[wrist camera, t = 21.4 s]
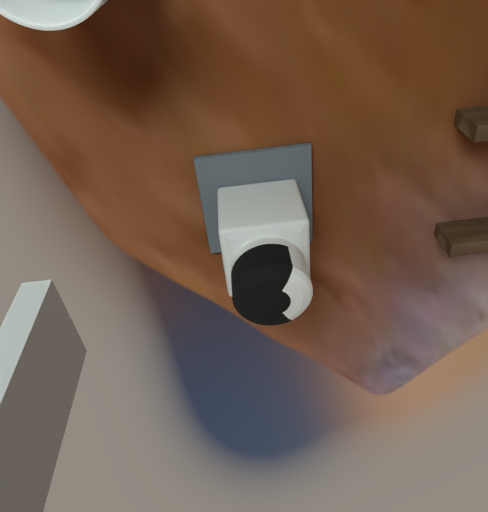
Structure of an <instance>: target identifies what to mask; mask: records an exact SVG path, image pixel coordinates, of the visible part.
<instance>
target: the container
mask: <svg viewBox="0 0 488 512" xmlns="http://www.w3.org/2000/svg"><path fill="white" fill-rule="evenodd" d="M217 200H218V233H219V239H220V245H221V251H222V257H223V264H224V270H225V276H226V282H227V289H228V294H229V296H231V297H232V300H233V304H234V307H235V309H236V310H237V312H238V313H239V314H240V315H241V316H243V317H244V318H246V319H247V320H249V321H251V322H254V323H257V324H261V325H278V324H283V323H286V322H289V321H291V320H293V319H295V318H296V317H298V316H299V315H300V314H301V313H302V312H303V311H305V309H306V308H307V307H308V305H309V304H310V302H311V299H312V296H313V288H312V283H311V280H310V234H309V219H308V216H307V213H306V210H305V207H304V204H303V201H302V198H301V194H300V191H299V188H298V185H297V182H296V181H295V180H294V179H290V180H281V181H273V182H264V183H256V184H247V185H239V186H230V187H222V188H219V189H218V191H217Z"/></svg>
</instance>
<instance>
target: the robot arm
mask: <svg viewBox="0 0 488 512" xmlns="http://www.w3.org/2000/svg"><path fill="white" fill-rule="evenodd" d="M86 352H87V350H86V348H85V346H84V344H83V342H82V340H81V338H80V336H79V334H78V332H77V330H76V328H75V326H74V324H73V322H72V320H71V318H70V315H69V314H68V311H67V309H66V307H65V305H64V303H63V301H62V299H61V297H60V295H59V293H58V291H57V289H56V287H55V285H54V283H53V281H52V280H44V281H36V282H27V283H22V284H21V286H20V288H19V290H18V292H17V294H16V296H15V298H14V301H13V303H12V305H11V307H10V309H9V311H8V313H7V315H6V317H5V319H4V321H3V324H2V325H1V327H0V512H43V510H44V505H45V502H46V499H47V495H48V491H49V487H50V484H51V480H52V476H53V473H54V469H55V465H56V461H57V458H58V455H59V451H60V447H61V443H62V440H63V436H64V433H65V429H66V425H67V421H68V418H69V414H70V410H71V407H72V403H73V399H74V395H75V392H76V388H77V385H78V381H79V377H80V373H81V370H82V366H83V362H84V359H85V355H86Z"/></svg>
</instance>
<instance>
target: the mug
mask: <svg viewBox="0 0 488 512" xmlns="http://www.w3.org/2000/svg"><path fill="white" fill-rule="evenodd" d="M107 1H108V0H0V14H1V15H2V16H4V17H6V18H7V19H9V20H11V21H13V22H15V23H17V24H20V25H22V26H25V27H29V28H32V29H37V30H45V31H54V30H62V29H67V28H70V27H73V26H75V25H77V24H79V23H81V22H83V21H84V20H86V19H87V18H89V17H90V16H91V15H92V14H93V13H94V12H95V11H97V10H98V9H99V8H100V7H101V6H102V5H103V4H104V3H105V2H107Z"/></svg>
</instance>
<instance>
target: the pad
mask: <svg viewBox="0 0 488 512" xmlns="http://www.w3.org/2000/svg"><path fill="white" fill-rule="evenodd" d="M194 165H195V170H196V176H197V181H198V186H199V192H200V197H201V203H202V208H203V214H204V219H205V225H206V230H207V236H208V241H209V247H210V252H211V253H219V252H222V251H221V245H220V239H219V233H218V200H217V191H218V189H219V188H222V187H230V186H239V185H247V184H256V183H264V182H273V181H281V180H290V179H294V180H295V181H296V182H297V185H298V188H299V191H300V194H301V198H302V201H303V204H304V207H305V210H306V213H307V216H308V219H309V234H310V242H311V241H313V226H312V149H311V143H303V144H295V145H286V146H278V147H270V148H262V149H253V150H245V151H237V152H229V153H220V154H212V155H204V156H196V157H194Z"/></svg>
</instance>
